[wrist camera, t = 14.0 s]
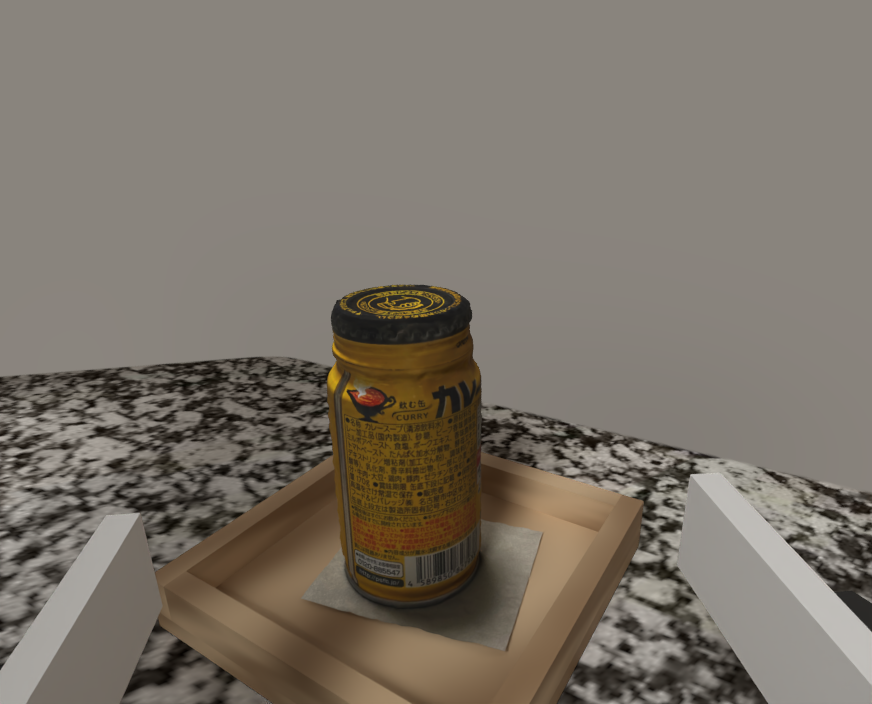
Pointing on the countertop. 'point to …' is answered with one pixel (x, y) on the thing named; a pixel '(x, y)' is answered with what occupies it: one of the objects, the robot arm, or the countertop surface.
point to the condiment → (415, 473)
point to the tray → (386, 642)
